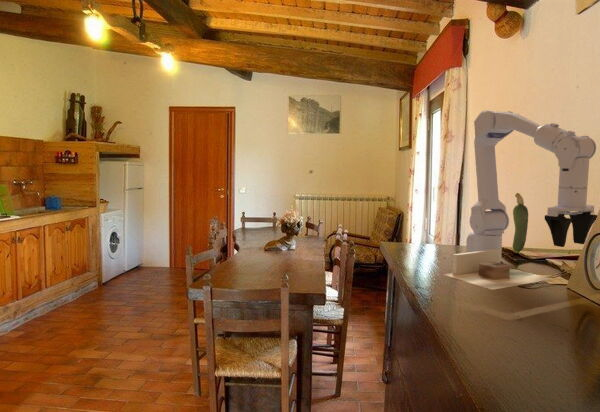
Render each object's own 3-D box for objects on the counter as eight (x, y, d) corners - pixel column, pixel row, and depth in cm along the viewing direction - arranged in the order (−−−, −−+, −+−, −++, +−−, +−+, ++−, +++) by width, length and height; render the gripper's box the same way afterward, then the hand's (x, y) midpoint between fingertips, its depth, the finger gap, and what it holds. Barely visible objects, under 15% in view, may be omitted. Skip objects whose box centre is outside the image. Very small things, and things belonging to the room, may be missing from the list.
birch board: (443, 278, 108) (443, 274, 108) (500, 269, 117) (500, 265, 117) (491, 294, 94) (492, 289, 94) (552, 282, 103) (553, 278, 103)
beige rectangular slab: (452, 273, 109) (453, 254, 108) (496, 266, 116) (496, 248, 115) (456, 274, 108) (456, 255, 107) (500, 267, 114) (500, 249, 114)
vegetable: (525, 253, 139) (528, 192, 137) (527, 255, 134) (530, 193, 133) (510, 252, 140) (512, 192, 138) (512, 254, 136) (514, 193, 134)
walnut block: (478, 275, 107) (478, 263, 107) (492, 273, 109) (493, 261, 109) (495, 279, 102) (495, 267, 102) (509, 277, 104) (509, 265, 104)
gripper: (570, 189, 92) (566, 250, 93) (609, 187, 98) (605, 245, 100) (540, 187, 98) (537, 245, 100) (578, 186, 105) (575, 240, 106)
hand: (569, 244), depth 100 cm, fingers open, 7 cm apart
